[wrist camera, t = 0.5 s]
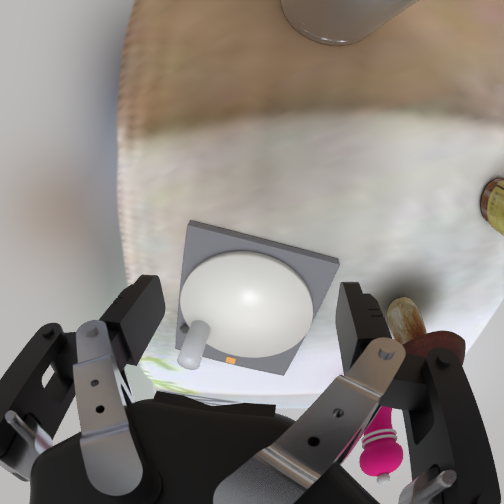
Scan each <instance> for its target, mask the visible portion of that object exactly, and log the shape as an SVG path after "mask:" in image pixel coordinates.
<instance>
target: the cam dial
mask: <svg viewBox="0 0 504 504" xmlns="http://www.w3.org/2000/svg"><path fill="white" fill-rule="evenodd" d="M180 306H181V311H182V314H183V317H184V319H185V321H186V323H187V324H185V325H182V326H180V330H181V331H182V332H183V334H185V333H187V336H186V338H185V341H184V343H183V346H182V348H181V351H180V354H179V356H178V359H177V361H178V363H179V364H180V365H181V366H182V367H184V368H186V369H189V370H195V369H197V368H198V367H199V365H200V361H201V358H202V355H203V352H204V349H205V346H206V344H208V345H210V346H211V347H213V348H215V349H217V350H219V351H222V352H224V353H227V354H231V355H235V356H240V357H249V358H259V357H267V356H273V355H276V354H279V353H282V352H284V351H287V350H288V349H290V348H292V347H293V346H295V345H296V344H297V343H299V342H300V341H301V340H302V339H303V337H304V336H305V335H306V334H307V332H308V330H309V328H310V326H311V323H312V318H313V305H312V298H311V294H310V291H309V289H308V287H307V285H306V283H305V282H304V280H303V279H302V278H301V277H300V275H299V274H298V273H297V272H296V271H295V270H293V269H292V268H291V267H289V266H288V265H287V264H285V263H283V262H282V261H280V260H278V259H276V258H273V257H271V256H268V255H265V254H261V253H256V252H250V251H232V252H226V253H221V254H218V255H215V256H212V257H210V258H208V259H206V260H204V261H203V262H201V263H200V264H198V265H197V266H196V267H195V268H194V269H193V270H192V272H191V273H190V274H189V276H188V278H187V280H186V282H185V284H184V286H183V288H182V291H181V297H180Z"/></svg>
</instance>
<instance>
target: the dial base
mask: <svg viewBox="0 0 504 504" xmlns="http://www.w3.org/2000/svg"><path fill="white" fill-rule="evenodd" d="M232 251H250V252H256V253H261V254H265V255H268V256H271V257H273V258H276V259H278V260H280V261H282V262H283V263H285V264H287V265H288V266H289V267H291V268H292V269H293V270H295V271H296V272H297V273H298V274H299V275H300V277H301V278H302V279H303V280H304V282H305V283H306V285H307V287H308V289H309V291H310V294H311V298H312V305H313V318H312V322H313V320H314V318H315V316H316V314H317V312H318V310H319V308H320V306H321V304H322V302H323V300H324V298H325V296H326V294H327V291H328V289H329V287H330V285H331V283H332V281H333V279H334V276H335V274H336V272H337V270H338V268H339V265H340V264H339V260H338V259H336V258H333V257H329V256H325V255H321V254H318V253H314V252H310V251H307V250H303V249H299V248H295V247H292V246H288V245H284V244H280V243H276V242H273V241H269V240H265V239H261V238H257V237H253V236H250V235H246V234H242V233H238V232H234V231H230V230H226V229H222V228H218V227H215V226H211V225H207V224H203V223H199V222H195V221H190V222H189V224H188V225H187V232H186V240H185V248H184V256H183V265H182V274H181V284H180V294H179V305H178V318H177V331H176V346H175V349H178V350H181V348H182V346H183V343H184V341H185V338H186V336H187V333H185V334H183V332H182V331H181V330H180V326H182V325H185V324H187V323H186V321H185V319H184V317H183V314H182V311H181V306H180V297H181V291H182V288H183V286H184V284H185V282H186V280H187V278H188V276H189V274H190V273H191V272H192V270H193V269H194V268H195V267H196V266H197V265H198V264H200V263H201V262H203V261H204V260H206V259H208V258H210V257H212V256H215V255H218V254H221V253H226V252H232ZM311 324H312V323H311ZM305 336H306V335H305ZM305 336H304V337H303V339H302V340H301V341H300V342H299V343H297V344H296V345H295V346H293V347H292V348H290V349H288V350H287V351H284V352H282V353H279V354H276V355H273V356H267V357H259V358H249V357H240V356H235V355H231V354H227V353H224V352H222V351H219V350H217V349H215V348H213V347H211V346H210V345H208V344H206V346H205V349H204V352H203V355H202V357H206V358H209V359H213V360H217V361H221V362H225V363H229V364H233V365H237V366H241V367H245V368H250V369H254V370H259V371H264V372H268V373H273V374H278V375H283V376H284V375H285V373H286V371H287V369H288V367H289V366H290V364H291V362H292V360H293V358H294V356H295V355H296V353H297V351H298V349H299V347H300V345H301V343H302V342H303V340H304V338H305Z"/></svg>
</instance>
